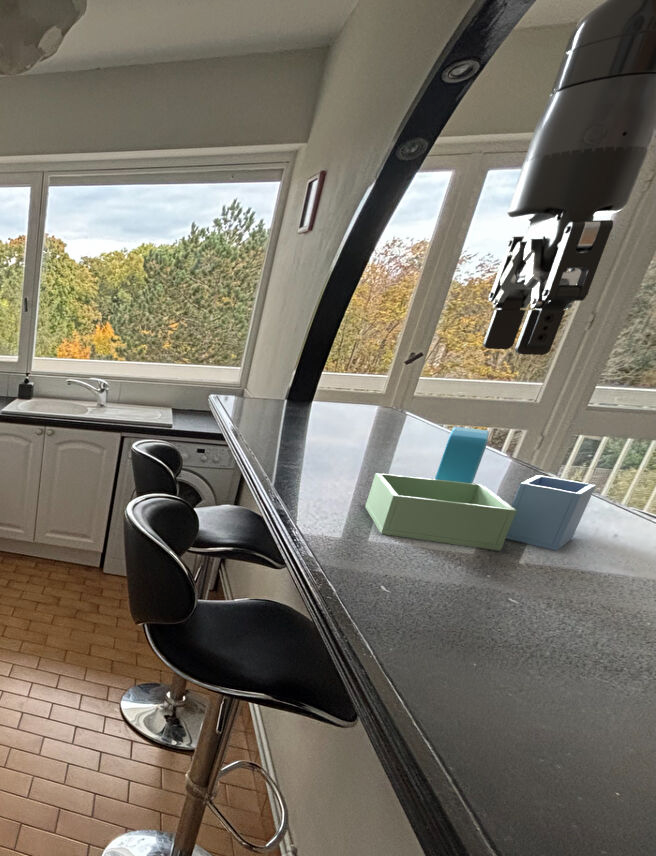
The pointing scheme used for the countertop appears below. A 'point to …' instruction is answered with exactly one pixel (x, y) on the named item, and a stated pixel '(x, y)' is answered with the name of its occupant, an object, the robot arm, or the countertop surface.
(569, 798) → the countertop surface
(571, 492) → the small bin
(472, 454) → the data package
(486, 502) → the green tote
